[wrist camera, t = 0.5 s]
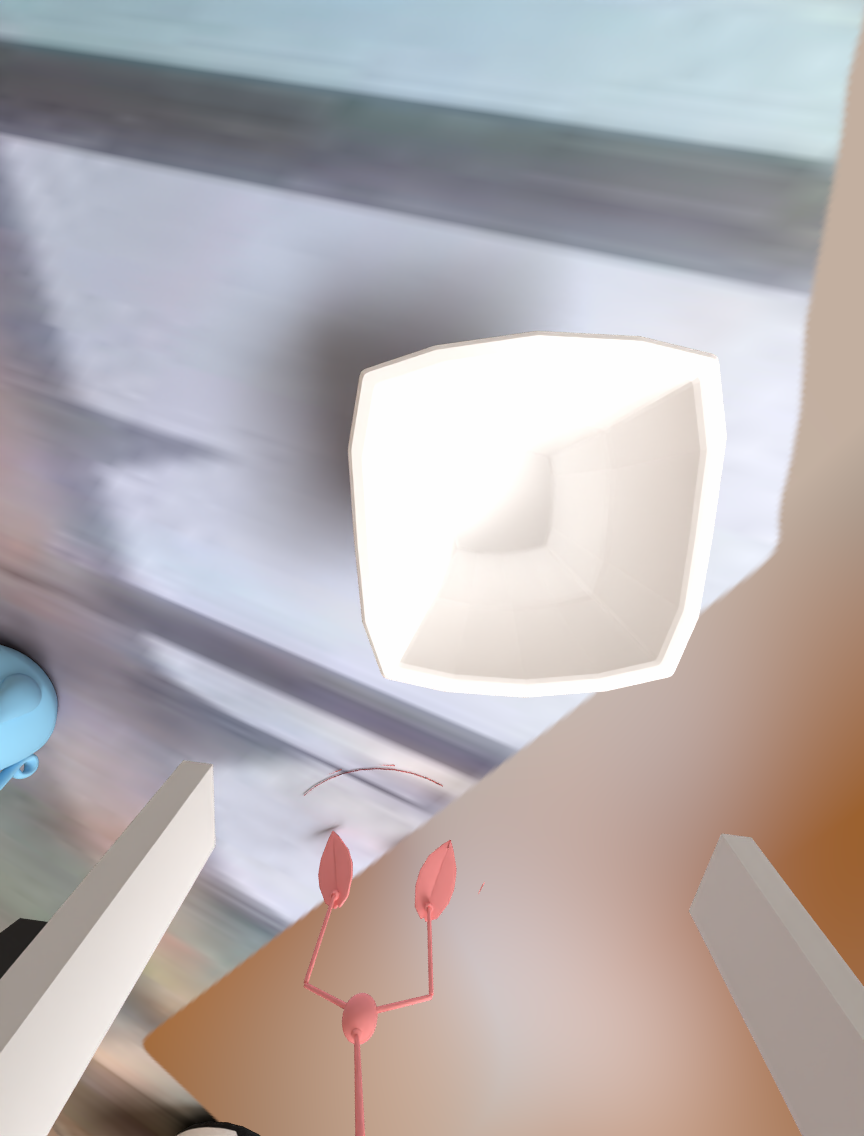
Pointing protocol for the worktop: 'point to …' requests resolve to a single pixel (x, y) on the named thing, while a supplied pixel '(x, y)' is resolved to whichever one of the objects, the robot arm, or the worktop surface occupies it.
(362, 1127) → the pink leafy branch
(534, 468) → the bowl
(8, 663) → the teapot
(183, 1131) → the milk container
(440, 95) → the worktop surface
